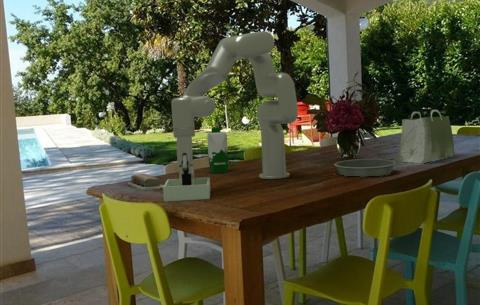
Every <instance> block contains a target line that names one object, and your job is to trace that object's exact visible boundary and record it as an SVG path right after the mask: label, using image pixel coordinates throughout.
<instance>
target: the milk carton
mask: <svg viewBox="0 0 480 305" xmlns="http://www.w3.org/2000/svg"><path fill="white" fill-rule="evenodd" d="M210 129H211V132H210V131H209V132H207V135H206V136H207V138H206V139H207V155H208V156H207V157H208V165H209V166H208V167H209V170H210V173H212V174H213V175H215V174H225V173H226V174H227V173H229V146H228V144H229V143H228V135H227V134H228V133H227V132H226V131H221V127H211V128H210Z"/></svg>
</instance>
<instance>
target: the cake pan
mask: <svg viewBox="0 0 480 305" xmlns="http://www.w3.org/2000/svg"><path fill="white" fill-rule="evenodd" d="M396 162H397V161H395V160H391V159H384V158H383V159H382V158H355V159H348V160H347V159H346V160H341V161H337V162H335V163H333V165H334V166H335V167H336V169H337V172H338V175H340V174H341V175H340V176H342V175H344V176H343V177H347V176H360V177H359V178H365V177H364V176H380V175H386V174H389V173H391V172H392V173H393V169H394V166H396V164H397V163H396ZM361 176H362V177H361ZM386 176H387V175H386ZM380 177H381V176H380Z"/></svg>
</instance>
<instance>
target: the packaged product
mask: <svg viewBox="0 0 480 305" xmlns="http://www.w3.org/2000/svg"><path fill="white" fill-rule="evenodd" d="M130 181H131V182H129V181H128V182H127V186H128V185H129V187H130V186H131V188H132V187H133V189H134V188H135V190H137V191H139V190H140V191H139V192H146V191H145V190H147V191H153V189H155V190H160V188H162V189H163V186H164V185H165V184H161V180H160V179H159V178H158V177H154V176H152V175H149V174H147V173H140V174H139V173H138V174H132V175H131V178H130Z"/></svg>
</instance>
